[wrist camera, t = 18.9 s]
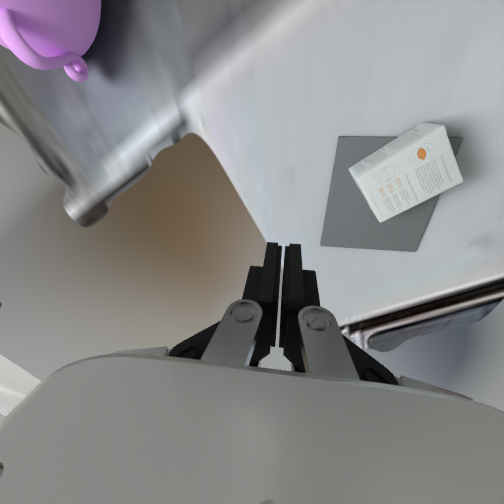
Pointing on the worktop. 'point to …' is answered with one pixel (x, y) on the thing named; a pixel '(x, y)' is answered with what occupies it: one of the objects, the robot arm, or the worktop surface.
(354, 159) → the mat
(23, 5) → the teapot
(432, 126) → the small box
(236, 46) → the worktop surface
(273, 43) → the worktop surface
